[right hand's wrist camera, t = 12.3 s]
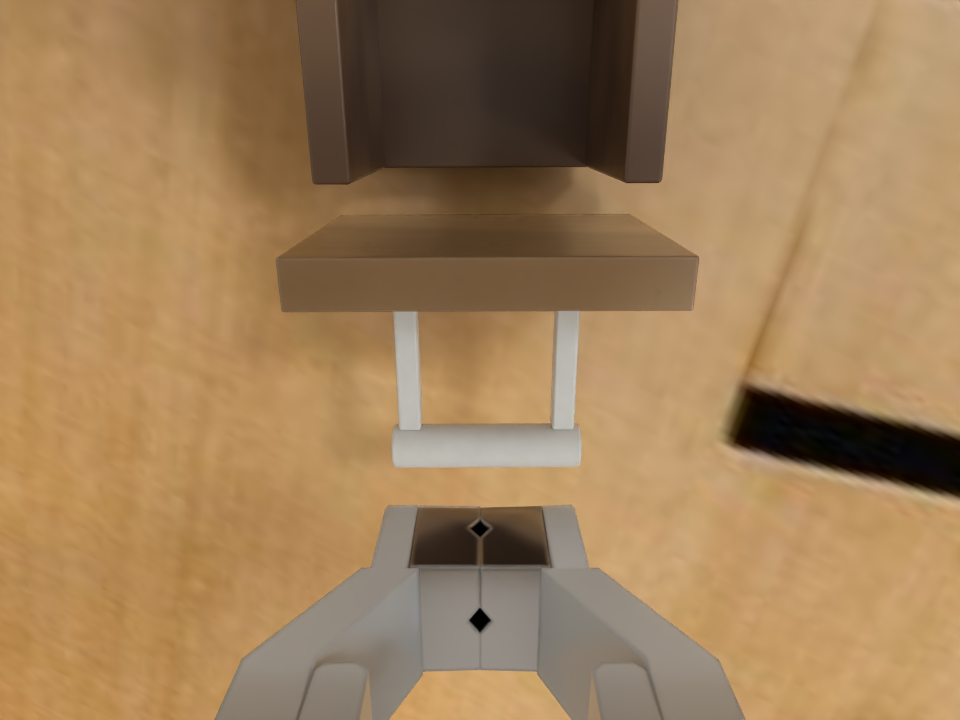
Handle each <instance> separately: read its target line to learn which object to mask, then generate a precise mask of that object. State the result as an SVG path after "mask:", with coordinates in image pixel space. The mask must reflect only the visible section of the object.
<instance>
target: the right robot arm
mask: <svg viewBox="0 0 960 720" xmlns="http://www.w3.org/2000/svg"><path fill="white" fill-rule="evenodd" d="M455 670H503V671H537V674H538V676H539V677H540V678H541V680H542V681H543V682H544V684H545V685H546V686H547V688H548V689H549V690H550V692H551V693H552V694H553V696H554V697H555V698H556V700H557V701H558V702H559V704H560V705H561V706H562V708H563V709H564V710H565V712H566V713H567V714H568V716H569V717H570V718H571V720H746V719H745V717H744V715H743V713H742V710H741V708H740V706H739V704H738V702H737V699H736V697H735V695H734V693H733V690H732V688H731V686H730V684H729V681H728V679H727V677H726V675H725V672H724V670H723V668H722V666H721V663H720V661H719V660H718V659H717V658H716V657H714V656H713V655H712V654H711V653H709V652H708V651H707V650H705V649H704V648H703V647H701V646H700V645H699V644H697V643H696V642H695V641H694V640H692V639H691V638H690V637H688V636H687V635H686V634H684V633H683V632H682V631H680V630H679V629H678V628H677V627H675V626H674V625H673V624H671V623H670V622H669V621H667V620H666V619H665V618H663V617H662V616H661V615H659V614H658V613H657V612H656V611H654V610H653V609H652V608H650V607H649V606H648V605H646V604H645V603H644V602H642V601H641V600H640V599H639V598H637V597H636V596H635V595H633V594H632V593H631V592H629V591H628V590H627V589H625V588H624V587H623V586H622V585H620V584H619V583H618V582H616V581H615V580H614V579H612V578H611V577H610V576H608V575H607V574H606V573H605V572H603V571H602V570H601V569H599V568H589V564H588V560H587V556H586V552H585V548H584V544H583V540H582V536H581V532H580V528H579V524H578V520H577V516H576V512H575V508H574V507H573V506H572V505H554V506H530V507H491V508H480V507H469V506H419V507H418V506H417V505H389V506H388V507H387V508H386V509H385V511H384V515H383V519H382V523H381V527H380V531H379V535H378V539H377V543H376V548H375V552H374V556H373V560H372V564H371V568H361V569H359V570H358V571H357V572H355V573H354V574H353V575H352V576H350V577H349V578H348V579H346V580H345V581H344V582H342V583H341V584H340V585H338V586H337V587H336V588H334V589H333V590H332V591H331V592H329V593H328V594H327V595H325V596H324V597H323V598H321V599H320V600H319V601H317V602H316V603H315V604H313V605H312V606H311V607H309V608H308V609H307V610H306V611H304V612H303V613H302V614H300V615H299V616H298V617H296V618H295V619H294V620H292V621H291V622H290V623H288V624H287V625H286V626H284V627H283V628H282V629H281V630H279V631H278V632H277V633H275V634H274V635H273V636H271V637H270V638H269V639H267V640H266V641H265V642H263V643H262V644H261V645H260V646H258V647H257V648H256V649H254V650H253V651H252V652H250V653H249V654H248V655H246V656H245V657H244V658H242V660H241V662H240V664H239V666H238V669H237V671H236V673H235V675H234V677H233V680H232V682H231V684H230V686H229V688H228V691H227V693H226V695H225V697H224V700H223V702H222V704H221V706H220V708H219V711H218V713H217V715H216V717H215V719H214V720H389V719H390V717H391V716H392V715H393V713H394V712H395V711H396V709H397V708H398V707H399V706H400V704H401V703H402V702H403V700H404V699H405V698H406V696H407V695H408V694H409V692H410V691H411V690H412V688H413V687H414V686H415V684H416V683H417V682H418V680H419V679H420V678H421V677H422V675H423V671H455Z"/></svg>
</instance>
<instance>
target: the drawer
mask: <svg viewBox="0 0 960 720" xmlns="http://www.w3.org/2000/svg"><path fill="white" fill-rule="evenodd" d="M296 8H297V19H298V30H299V41H300V52H301V63H302V74H303V85H304V96H305V107H306V118H307V129H308V140H309V150H310V161H311V172H312V181H313V183H314V184H350V183H352V182H354V181H356V180H358V179H361V178H363V177H365V176H367V175H369V174H371V173H374V172H376V171H378V170H380V169H382V168H464V167H589V168H591V169H594V170H596V171H599V172H601V173H604V174H606V175H608V176H611V177H613V178H616V179H618V180H621V181H623V182H625V183H659V182H661V180H662V174H663V163H664V152H665V141H666V130H667V119H668V108H669V97H670V86H671V75H672V64H673V53H674V42H675V31H676V20H677V9H678V0H296ZM698 264H699V257H698V256H697V255H695V254H694V253H692V252H690V251H689V250H687V249H686V248H684V247H682V246H681V245H679V244H677V243H676V242H674V241H673V240H671V239H669V238H668V237H666V236H664V235H663V234H661V233H659V232H658V231H656V230H655V229H653V228H651V227H650V226H648V225H646V224H645V223H643V222H642V221H640V220H638V219H637V218H635V217H633V216H632V215H630V214H533V215H341V216H339V217H338V218H336V219H335V220H333V221H332V222H330V223H329V224H327V225H326V226H324V227H323V228H321V229H320V230H318V231H317V232H315V233H314V234H312V235H311V236H309V237H308V238H306V239H305V240H303V241H302V242H300V243H298V244H297V245H295V246H294V247H292V248H291V249H289V250H288V251H286V252H285V253H283V254H282V255H280V256H279V257H277V258H276V267H277V275H278V284H279V293H280V301H281V309H282V311H283V312H393V321H394V340H395V359H396V378H397V397H398V415H399V424H396V425H395V426H394V428H393V432H392V462H393V465H394V467H396V468H472V467H578V466H579V465H580V462H581V454H582V442H581V432H580V428H579V425H578V424H576V423H574V414H575V394H576V375H577V355H578V336H579V316H580V311H691V310H693V307H694V299H695V290H696V281H697V272H698ZM468 311H554V334H553V361H552V388H551V415H550V421H551V424H422V398H421V373H420V347H419V321H418V312H468Z"/></svg>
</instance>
